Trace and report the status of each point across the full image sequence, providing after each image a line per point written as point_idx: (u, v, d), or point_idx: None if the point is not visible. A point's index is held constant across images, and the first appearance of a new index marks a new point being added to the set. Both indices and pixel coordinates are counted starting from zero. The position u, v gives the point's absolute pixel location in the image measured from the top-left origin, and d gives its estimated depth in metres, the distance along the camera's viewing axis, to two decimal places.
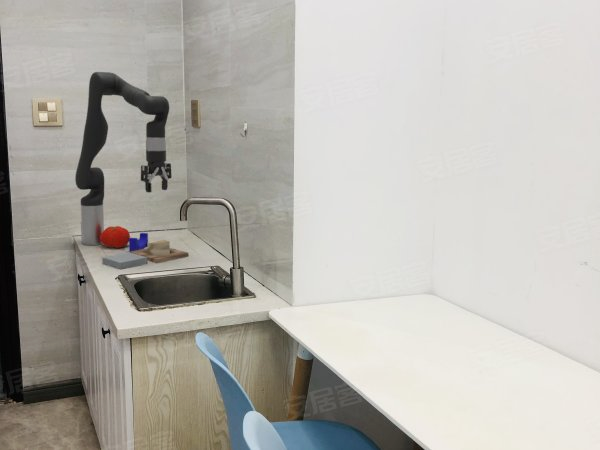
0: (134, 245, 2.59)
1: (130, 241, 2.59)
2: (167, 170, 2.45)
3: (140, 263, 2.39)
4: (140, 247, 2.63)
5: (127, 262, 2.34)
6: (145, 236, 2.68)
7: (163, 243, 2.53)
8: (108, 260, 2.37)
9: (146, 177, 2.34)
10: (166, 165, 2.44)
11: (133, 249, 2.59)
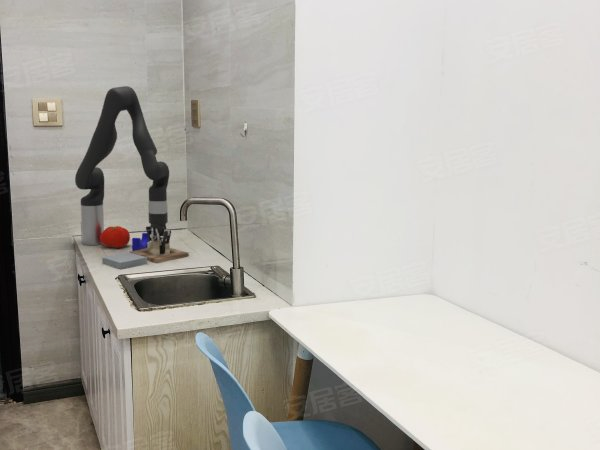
0: (137, 245, 2.59)
1: (133, 241, 2.59)
2: (151, 232, 2.56)
3: (140, 263, 2.39)
4: (143, 247, 2.63)
5: (127, 262, 2.34)
6: (147, 236, 2.68)
7: None
8: (108, 260, 2.37)
9: None
10: None
11: (136, 249, 2.59)
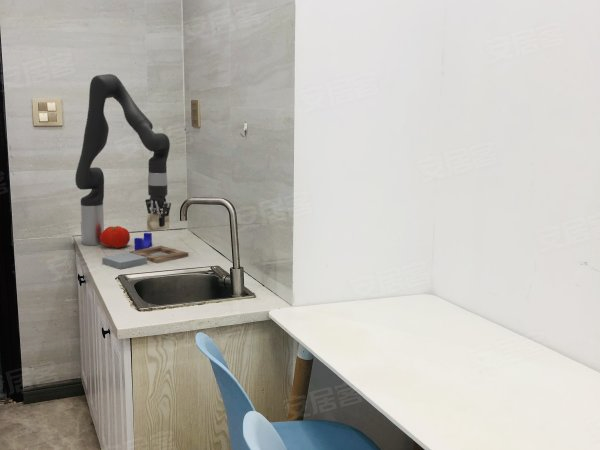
0: (139, 245, 2.59)
1: (135, 241, 2.59)
2: (151, 205, 2.54)
3: (140, 263, 2.39)
4: (145, 247, 2.63)
5: (127, 262, 2.34)
6: (149, 236, 2.68)
7: None
8: (108, 260, 2.37)
9: None
10: None
11: (138, 249, 2.59)
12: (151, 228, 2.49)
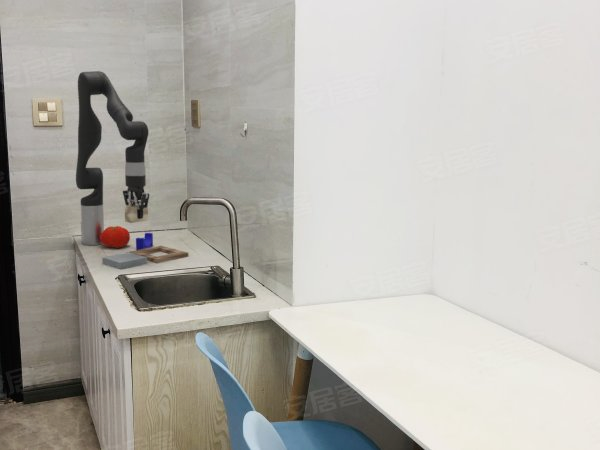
0: (141, 245, 2.59)
1: (137, 241, 2.59)
2: (129, 196, 2.44)
3: (140, 263, 2.39)
4: (146, 247, 2.63)
5: (127, 262, 2.34)
6: (150, 236, 2.69)
7: None
8: (108, 260, 2.37)
9: None
10: None
11: None
12: (129, 220, 2.39)
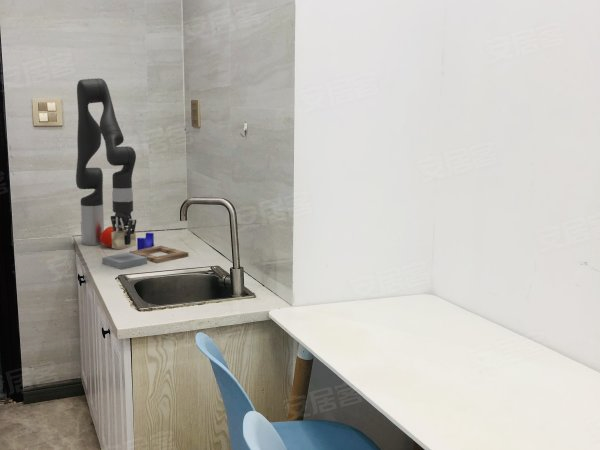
0: (142, 245, 2.59)
1: (138, 241, 2.59)
2: None
3: (140, 263, 2.39)
4: (147, 247, 2.64)
5: (127, 262, 2.34)
6: (151, 236, 2.69)
7: None
8: (108, 260, 2.37)
9: None
10: None
11: None
12: (116, 246, 2.36)
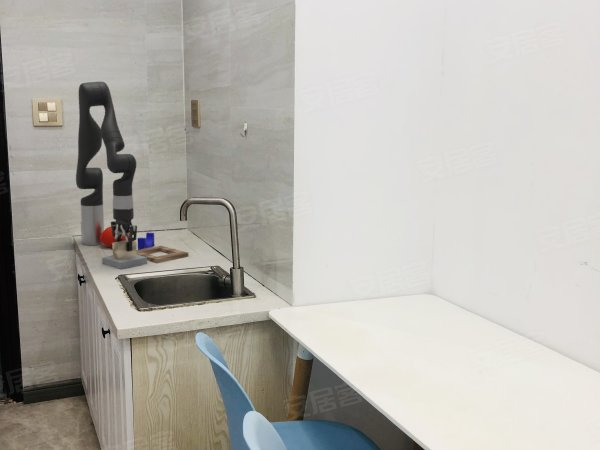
0: (143, 245, 2.59)
1: (139, 241, 2.59)
2: None
3: (140, 263, 2.39)
4: (148, 247, 2.64)
5: (127, 262, 2.34)
6: (152, 236, 2.69)
7: None
8: (108, 260, 2.37)
9: None
10: None
11: None
12: (116, 257, 2.37)
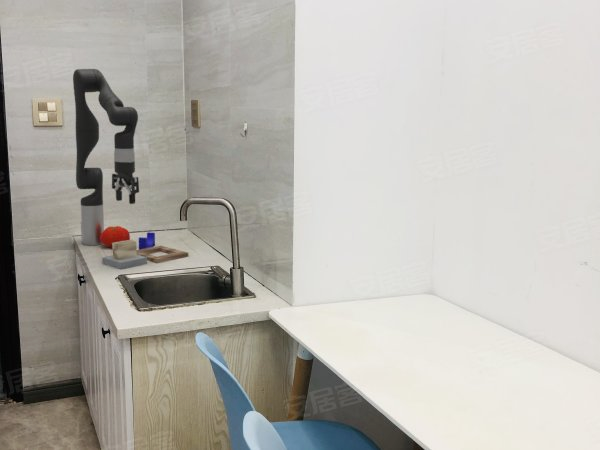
0: (144, 245, 2.60)
1: (140, 241, 2.60)
2: (117, 180, 2.42)
3: (140, 263, 2.39)
4: (149, 247, 2.64)
5: (127, 262, 2.34)
6: (152, 236, 2.69)
7: (129, 244, 2.39)
8: (108, 260, 2.37)
9: None
10: None
11: (142, 248, 2.60)
12: (116, 257, 2.37)
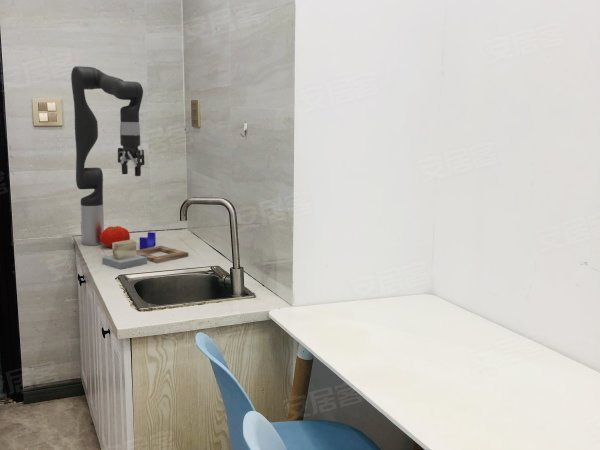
0: (145, 244, 2.60)
1: (140, 240, 2.60)
2: (122, 154, 2.48)
3: (140, 263, 2.39)
4: (149, 246, 2.65)
5: (127, 262, 2.34)
6: (153, 235, 2.70)
7: (129, 244, 2.39)
8: (108, 260, 2.37)
9: None
10: None
11: (143, 248, 2.60)
12: (116, 257, 2.37)
